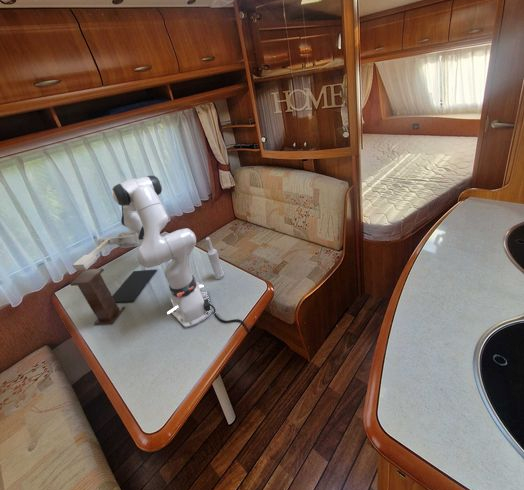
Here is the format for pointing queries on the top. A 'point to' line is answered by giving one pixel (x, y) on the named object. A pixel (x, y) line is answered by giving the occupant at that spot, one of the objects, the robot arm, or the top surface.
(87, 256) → the brush
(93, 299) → the stand
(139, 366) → the top surface
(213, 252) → the bottle
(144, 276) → the counter mat
